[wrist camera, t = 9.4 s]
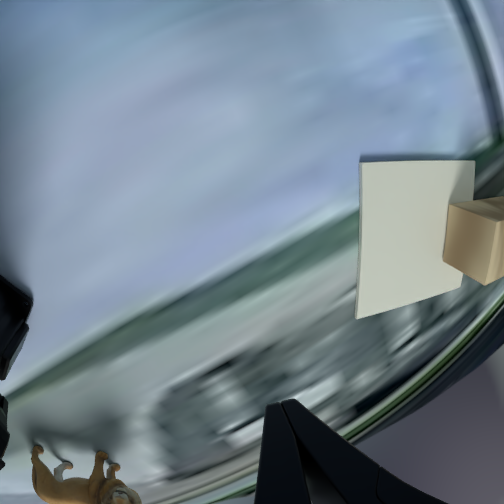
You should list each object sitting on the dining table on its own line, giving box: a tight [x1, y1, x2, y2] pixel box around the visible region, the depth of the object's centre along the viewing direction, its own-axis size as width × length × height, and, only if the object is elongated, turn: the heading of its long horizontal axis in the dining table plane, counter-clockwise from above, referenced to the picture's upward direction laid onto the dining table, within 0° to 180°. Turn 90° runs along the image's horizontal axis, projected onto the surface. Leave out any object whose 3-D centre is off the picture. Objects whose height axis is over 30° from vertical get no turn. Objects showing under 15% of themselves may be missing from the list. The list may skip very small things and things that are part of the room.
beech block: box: [443, 196, 504, 285], centre depth 22 cm, size 5×5×10 cm
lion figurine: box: [31, 446, 142, 504], centre depth 21 cm, size 15×5×9 cm, turn 99°
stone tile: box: [355, 160, 475, 319], centre depth 23 cm, size 12×12×1 cm
